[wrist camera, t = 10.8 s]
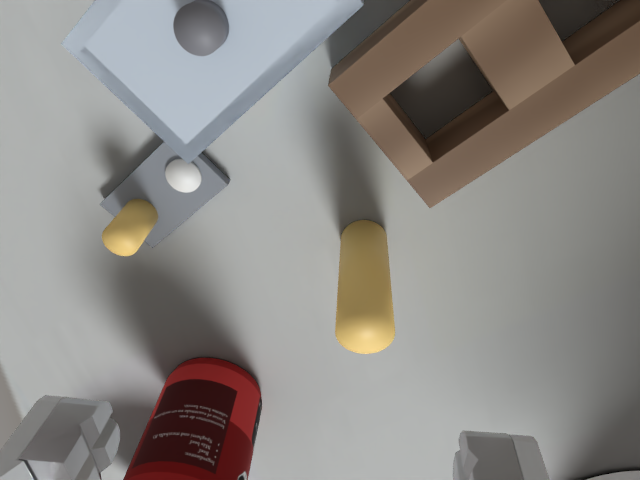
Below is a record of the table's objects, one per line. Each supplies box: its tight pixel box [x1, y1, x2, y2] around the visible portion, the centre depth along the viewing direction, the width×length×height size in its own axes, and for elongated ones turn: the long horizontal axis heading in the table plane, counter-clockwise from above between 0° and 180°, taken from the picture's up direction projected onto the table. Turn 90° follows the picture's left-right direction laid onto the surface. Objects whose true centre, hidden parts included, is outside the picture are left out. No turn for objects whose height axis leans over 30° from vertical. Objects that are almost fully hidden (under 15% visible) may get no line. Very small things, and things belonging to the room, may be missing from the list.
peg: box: [335, 220, 395, 354], centre depth 26 cm, size 3×3×8 cm
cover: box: [61, 0, 364, 164], centre depth 19 cm, size 6×9×8 cm, turn 131°
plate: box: [100, 142, 230, 256], centre depth 26 cm, size 4×7×4 cm, turn 131°
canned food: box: [123, 358, 262, 480], centre depth 33 cm, size 8×8×11 cm
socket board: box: [328, 0, 640, 208], centre depth 21 cm, size 8×14×3 cm, turn 131°
